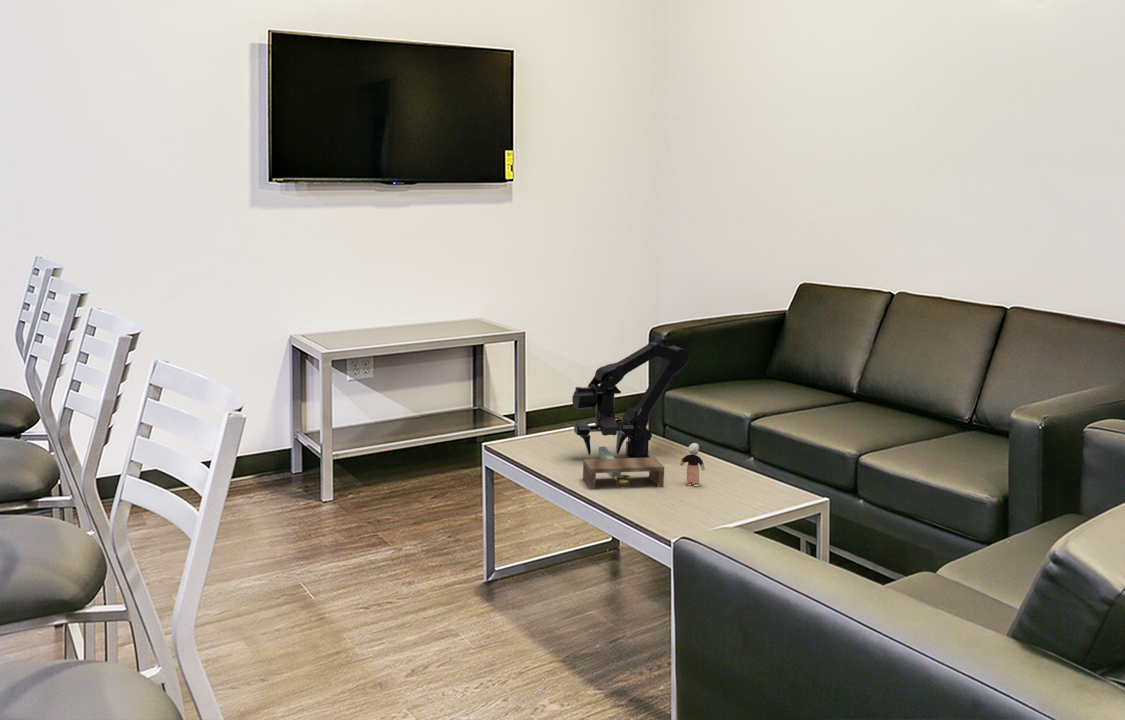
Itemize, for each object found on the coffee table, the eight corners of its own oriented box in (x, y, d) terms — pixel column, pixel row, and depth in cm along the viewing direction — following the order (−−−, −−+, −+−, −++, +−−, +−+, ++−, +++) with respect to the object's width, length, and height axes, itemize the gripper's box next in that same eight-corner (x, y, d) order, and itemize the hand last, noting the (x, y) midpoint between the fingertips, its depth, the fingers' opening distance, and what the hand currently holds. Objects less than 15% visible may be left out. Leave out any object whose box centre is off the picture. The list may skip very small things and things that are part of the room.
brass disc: (628, 480, 283) (628, 474, 282) (632, 485, 278) (632, 479, 278) (613, 481, 282) (613, 474, 281) (617, 486, 277) (617, 479, 277)
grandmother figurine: (705, 484, 281) (708, 443, 278) (703, 488, 277) (705, 446, 275) (680, 481, 283) (682, 440, 281) (677, 484, 279) (679, 443, 277)
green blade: (605, 457, 307) (605, 446, 307) (620, 477, 286) (621, 466, 285) (598, 457, 307) (598, 446, 306) (612, 477, 286) (613, 466, 285)
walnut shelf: (653, 476, 287) (654, 457, 286) (663, 486, 277) (664, 467, 276) (582, 478, 283) (583, 459, 282) (590, 489, 273) (590, 469, 272)
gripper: (581, 413, 291) (580, 462, 294) (640, 412, 295) (638, 460, 298) (574, 405, 302) (572, 452, 305) (630, 404, 306) (629, 451, 309)
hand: (603, 454), depth 304 cm, fingers open, 9 cm apart
